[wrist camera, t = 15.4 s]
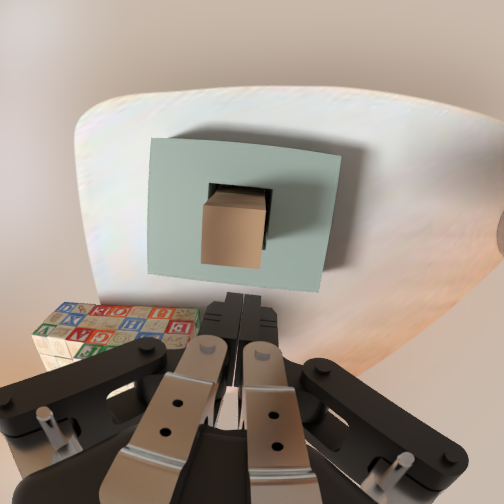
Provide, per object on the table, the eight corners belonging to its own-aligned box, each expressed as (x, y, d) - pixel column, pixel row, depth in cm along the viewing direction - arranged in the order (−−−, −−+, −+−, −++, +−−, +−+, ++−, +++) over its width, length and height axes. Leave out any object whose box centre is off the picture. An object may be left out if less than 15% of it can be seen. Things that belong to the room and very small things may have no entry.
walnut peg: (264, 188, 33) (266, 209, 22) (260, 228, 35) (260, 269, 23) (222, 184, 33) (202, 204, 22) (219, 225, 35) (199, 264, 23)
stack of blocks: (74, 335, 41) (35, 384, 29) (64, 300, 39) (17, 345, 27) (204, 346, 40) (187, 412, 29) (200, 307, 38) (177, 370, 27)
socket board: (330, 154, 32) (341, 156, 27) (311, 273, 36) (318, 292, 31) (166, 138, 31) (151, 137, 27) (161, 257, 36) (147, 273, 31)
